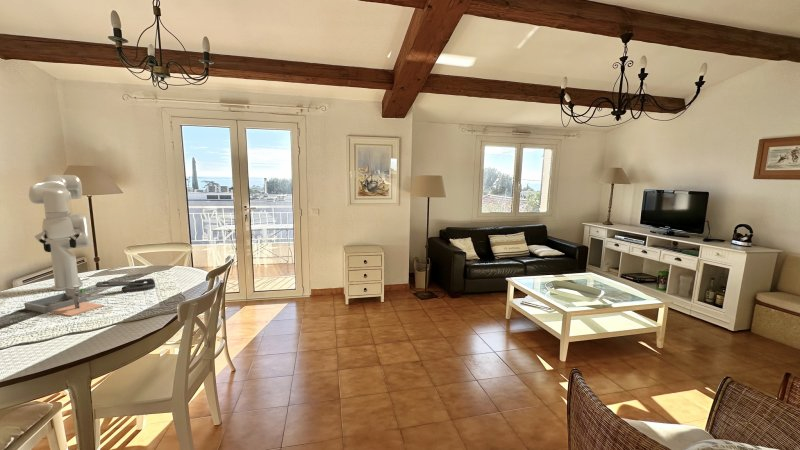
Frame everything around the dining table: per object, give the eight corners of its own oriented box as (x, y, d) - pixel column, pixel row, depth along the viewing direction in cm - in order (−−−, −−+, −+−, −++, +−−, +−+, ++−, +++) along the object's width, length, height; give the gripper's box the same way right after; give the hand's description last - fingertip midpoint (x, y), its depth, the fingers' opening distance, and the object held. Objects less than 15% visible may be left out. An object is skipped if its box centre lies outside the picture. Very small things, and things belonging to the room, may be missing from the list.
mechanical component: (82, 310, 153) (79, 289, 152) (65, 308, 156) (63, 287, 154) (89, 308, 156) (86, 287, 155) (73, 305, 159) (70, 286, 157)
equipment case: (84, 293, 178) (84, 287, 177) (104, 296, 173) (104, 291, 173) (25, 309, 156) (24, 302, 155) (46, 313, 151) (45, 307, 151)
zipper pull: (96, 281, 177) (154, 274, 193) (97, 293, 178) (154, 284, 194) (94, 285, 170) (154, 277, 186) (96, 298, 171) (155, 288, 187)
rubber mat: (84, 302, 164) (84, 301, 164) (103, 306, 160) (103, 305, 160) (50, 312, 152) (50, 311, 152) (70, 316, 148) (70, 315, 148)
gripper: (73, 212, 168) (77, 245, 171) (27, 216, 152) (32, 252, 155) (83, 214, 166) (87, 246, 169) (38, 218, 150) (42, 254, 153)
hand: (61, 249), depth 162 cm, fingers open, 9 cm apart
